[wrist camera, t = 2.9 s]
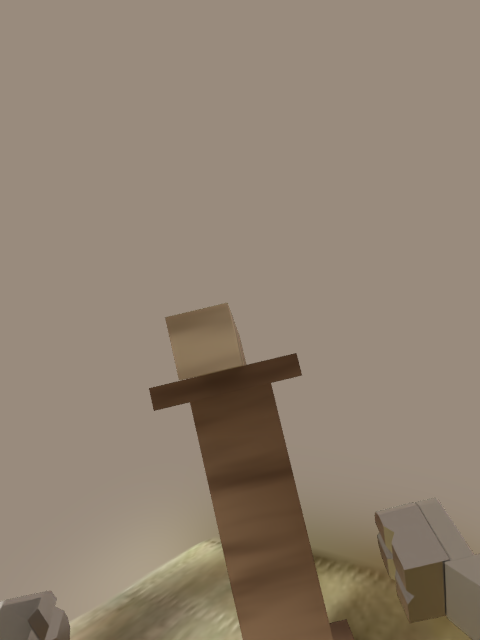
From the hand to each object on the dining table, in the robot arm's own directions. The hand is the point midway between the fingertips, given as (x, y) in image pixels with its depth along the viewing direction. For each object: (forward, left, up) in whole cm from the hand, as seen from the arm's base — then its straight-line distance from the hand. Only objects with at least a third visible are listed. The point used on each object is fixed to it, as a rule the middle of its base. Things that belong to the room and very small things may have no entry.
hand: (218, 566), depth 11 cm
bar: (-15, +13, +5) cm, 21 cm away
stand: (-19, +17, -21) cm, 33 cm away
